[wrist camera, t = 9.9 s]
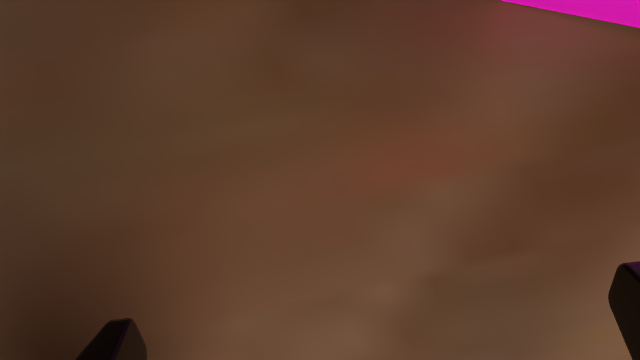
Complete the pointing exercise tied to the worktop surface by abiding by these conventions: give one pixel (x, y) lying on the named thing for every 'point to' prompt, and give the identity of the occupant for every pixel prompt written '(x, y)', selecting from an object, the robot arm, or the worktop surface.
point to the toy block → (592, 9)
